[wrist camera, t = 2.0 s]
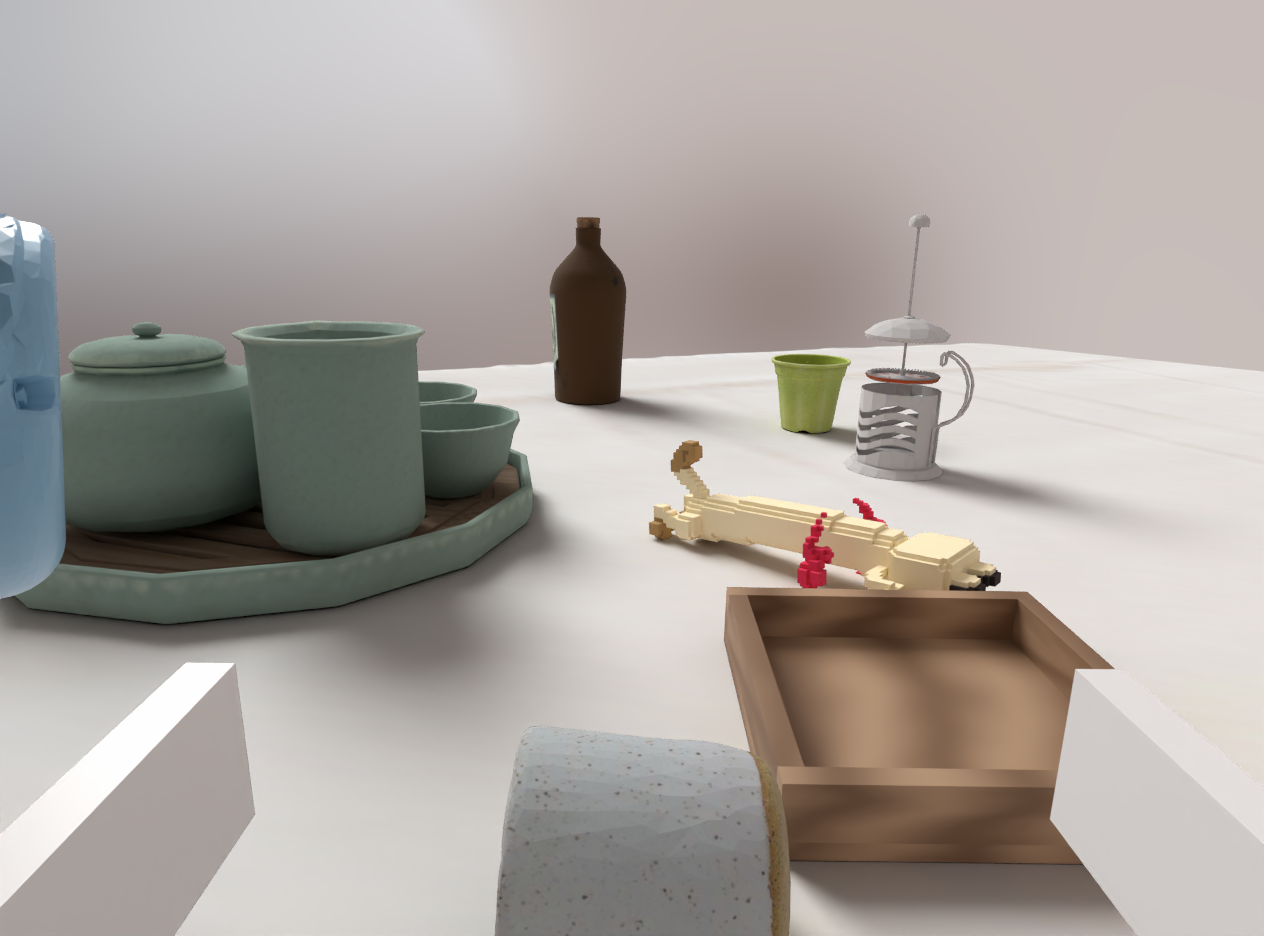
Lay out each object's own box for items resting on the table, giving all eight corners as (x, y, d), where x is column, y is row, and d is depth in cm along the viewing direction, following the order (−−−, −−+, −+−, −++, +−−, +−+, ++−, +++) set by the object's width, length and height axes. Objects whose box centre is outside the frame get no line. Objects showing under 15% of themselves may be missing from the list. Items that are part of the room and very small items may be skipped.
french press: (863, 450, 89) (887, 216, 83) (972, 468, 83) (1008, 215, 76) (828, 468, 82) (851, 212, 75) (944, 490, 75) (981, 211, 68)
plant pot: (802, 440, 93) (807, 366, 91) (752, 424, 101) (756, 355, 99) (860, 432, 98) (867, 361, 95) (808, 417, 106) (813, 352, 103)
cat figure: (631, 563, 60) (965, 656, 43) (626, 450, 59) (973, 501, 42) (712, 531, 67) (1027, 600, 50) (710, 429, 65) (1036, 465, 49)
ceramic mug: (791, 1075, 22) (812, 837, 20) (491, 1076, 22) (483, 837, 20) (735, 815, 32) (745, 641, 30) (531, 814, 32) (529, 639, 30)
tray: (776, 860, 30) (782, 784, 29) (724, 640, 46) (726, 587, 45) (1232, 865, 30) (1252, 790, 29) (1018, 644, 46) (1027, 591, 45)
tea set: (598, 478, 78) (599, 306, 73) (331, 684, 41) (301, 366, 37) (265, 441, 90) (248, 290, 85) (-176, 577, 53) (-246, 324, 48)
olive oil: (629, 393, 120) (632, 219, 113) (618, 407, 110) (620, 216, 103) (560, 390, 121) (558, 218, 115) (542, 404, 111) (540, 215, 104)
